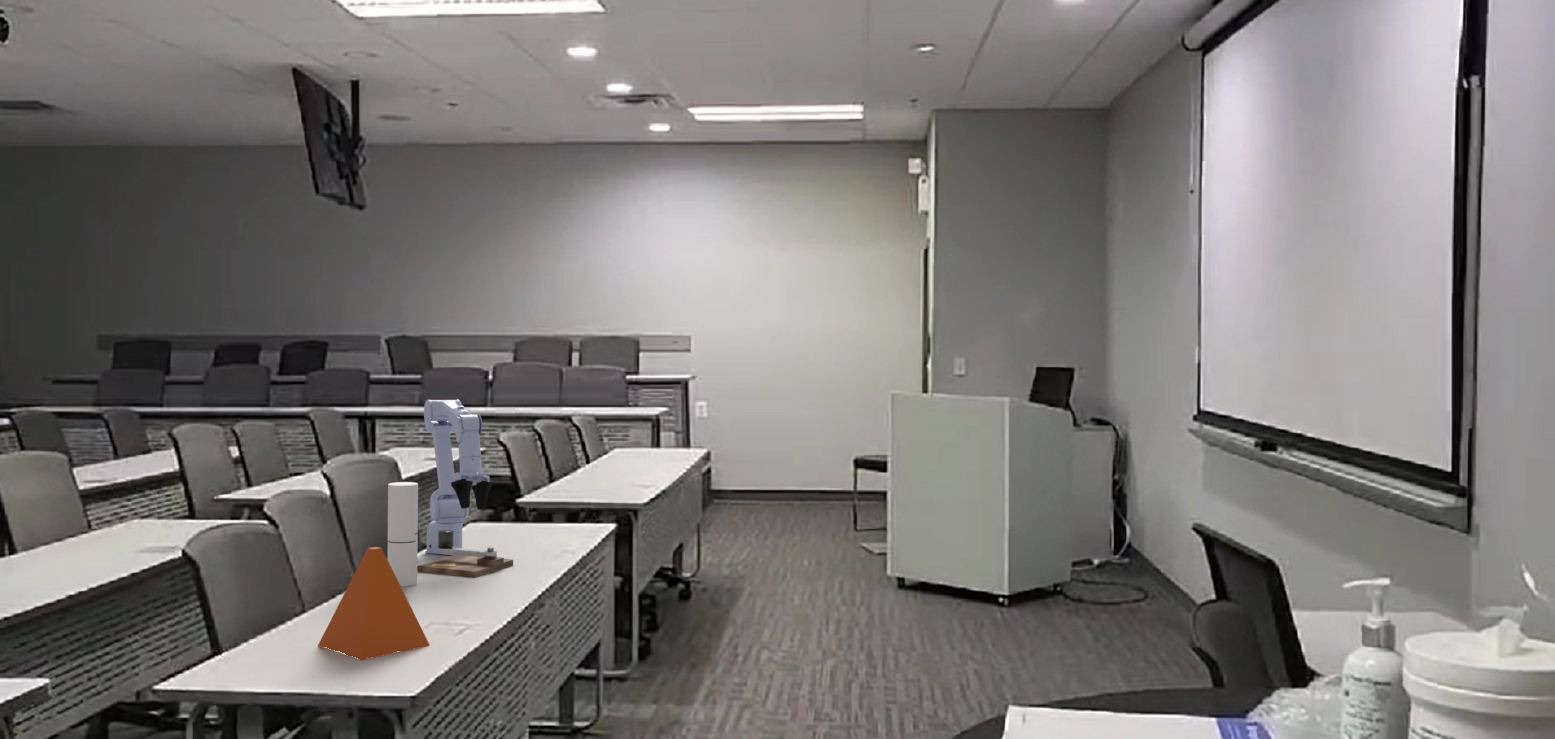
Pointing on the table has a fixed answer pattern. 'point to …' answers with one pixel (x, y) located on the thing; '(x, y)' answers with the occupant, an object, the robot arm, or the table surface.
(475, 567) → the cracker board
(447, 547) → the lever
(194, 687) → the table surface
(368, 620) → the pyramid
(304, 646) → the table surface
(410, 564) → the cylindrical container
